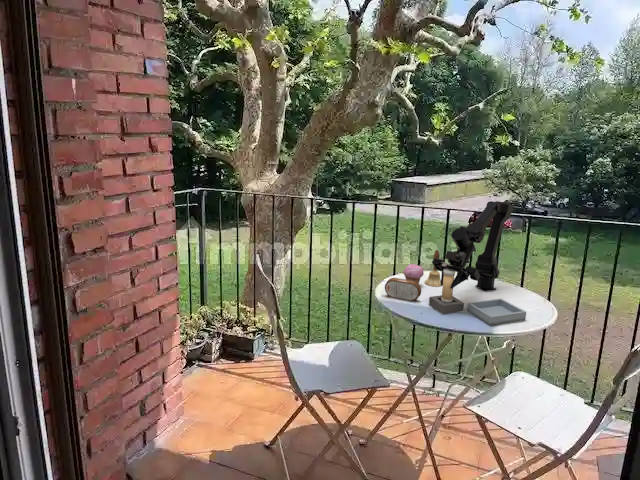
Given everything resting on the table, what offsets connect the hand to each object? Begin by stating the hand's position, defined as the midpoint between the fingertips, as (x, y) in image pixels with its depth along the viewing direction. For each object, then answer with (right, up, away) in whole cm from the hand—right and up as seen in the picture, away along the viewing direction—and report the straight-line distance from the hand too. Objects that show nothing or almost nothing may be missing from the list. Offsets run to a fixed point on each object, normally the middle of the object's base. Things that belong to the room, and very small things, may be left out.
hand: (446, 286), depth 181 cm
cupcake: (-8, -3, +27) cm, 28 cm away
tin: (-15, -6, +12) cm, 20 cm away
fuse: (+1, -6, +3) cm, 7 cm away
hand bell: (+3, -2, +31) cm, 31 cm away
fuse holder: (+1, -9, +3) cm, 9 cm away
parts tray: (+18, -11, -3) cm, 21 cm away
